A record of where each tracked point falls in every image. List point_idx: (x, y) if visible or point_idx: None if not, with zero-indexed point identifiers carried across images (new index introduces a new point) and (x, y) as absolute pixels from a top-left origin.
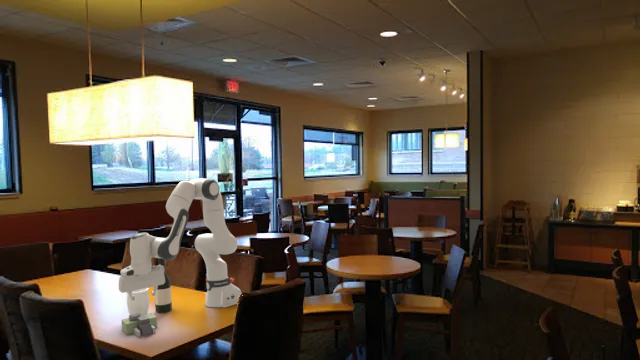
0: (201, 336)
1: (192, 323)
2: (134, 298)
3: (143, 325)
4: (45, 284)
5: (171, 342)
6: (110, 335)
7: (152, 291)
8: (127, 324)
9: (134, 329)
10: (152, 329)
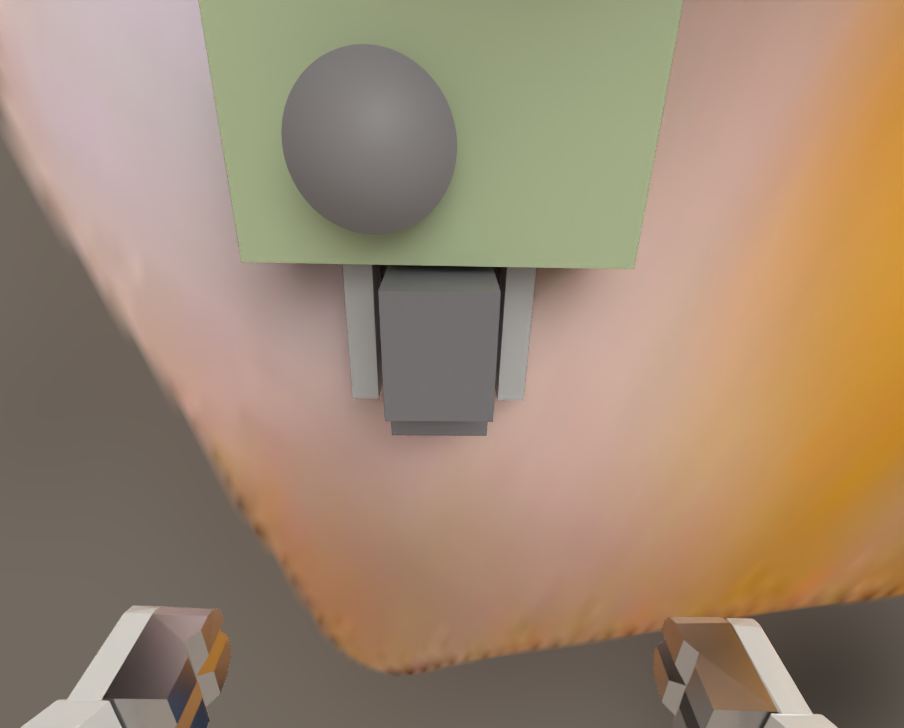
0: None
1: (861, 381)
2: (207, 702)
3: (405, 434)
4: None
5: (521, 598)
6: (119, 114)
7: (741, 719)
8: (261, 259)
9: (345, 290)
10: (496, 385)
